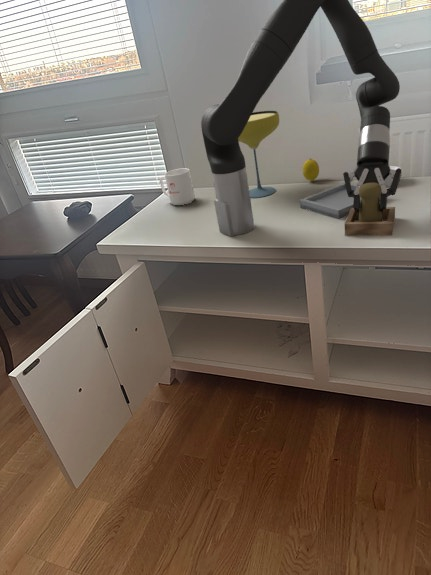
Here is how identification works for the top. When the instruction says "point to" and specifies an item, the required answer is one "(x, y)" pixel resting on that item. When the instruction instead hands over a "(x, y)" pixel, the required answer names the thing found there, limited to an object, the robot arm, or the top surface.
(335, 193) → the grey tray
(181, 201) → the mug
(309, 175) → the lemon
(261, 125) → the cocktail glass
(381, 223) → the walnut holder
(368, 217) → the cork
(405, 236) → the top surface
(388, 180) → the ramekin
